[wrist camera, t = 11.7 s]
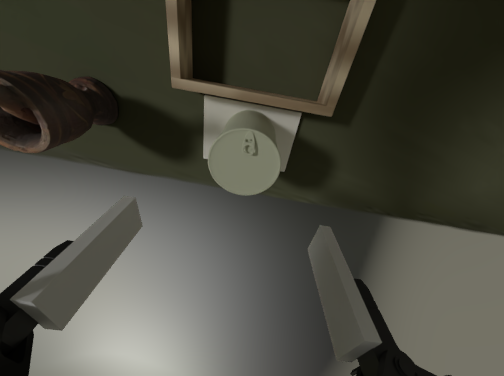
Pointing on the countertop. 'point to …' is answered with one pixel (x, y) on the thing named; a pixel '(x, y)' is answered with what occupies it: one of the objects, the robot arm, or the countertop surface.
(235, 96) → the wooden frame
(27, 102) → the mortar and pestle
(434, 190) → the countertop surface
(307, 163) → the countertop surface
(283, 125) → the mat
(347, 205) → the countertop surface
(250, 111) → the can
